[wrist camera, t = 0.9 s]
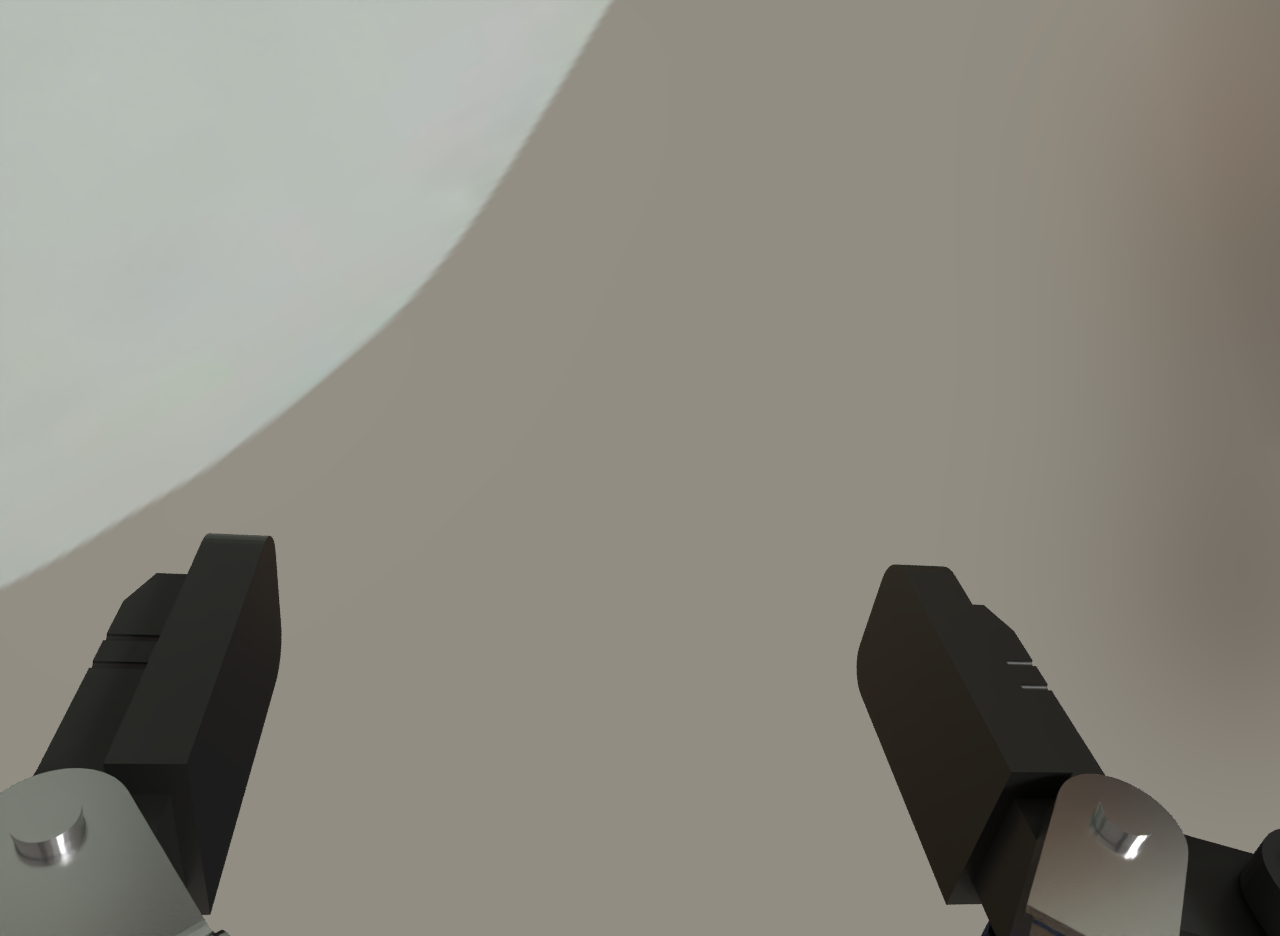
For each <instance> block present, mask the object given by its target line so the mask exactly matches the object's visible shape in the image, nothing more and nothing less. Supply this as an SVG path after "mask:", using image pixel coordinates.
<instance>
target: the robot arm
mask: <svg viewBox="0 0 1280 936" xmlns="http://www.w3.org/2000/svg"><path fill="white" fill-rule="evenodd" d="M280 655H281V618H280V605H279V593H278V578H277V565H276V552H275V544H274V540H273V538H272V537H271V536H259V535H233V534H212V533H209V534H207V535H206V536H205V537H204V539H203V540H202V542H201V545H200V547H199V549H198V551H197V554H196V556H195V558H194V560H193V563H192V566H191V567H190V569H189V572H188V574H166V573H156V574H155V575H154V576H153V577H152V578H150V579H149V580H148V581H147V582H146V583H145V584H143V585H142V586H141V587H140V588H138V589H137V590H136V591H135V592H134V593H133V594H131V595H130V596H129V597H128V598H126V599H125V600H124V601H123V603H122V605H121V607H120V609H119V611H118V613H117V615H116V616H115V619H114V620H113V623H112V624H111V626H110V628H109V630H108V632H107V638H106V640H103V642H102V644H101V646H100V648H99V650H98V652H97V654H96V656H95V657H94V659H93V666H92V668H89V669H88V671H87V673H86V675H85V677H84V679H83V681H82V683H81V685H80V687H79V689H78V691H77V693H76V695H75V697H74V698H73V700H72V702H71V704H70V706H69V708H68V710H67V712H66V714H65V716H64V718H63V720H62V722H61V724H60V726H59V728H58V730H57V732H56V734H55V736H54V738H53V739H52V741H51V743H50V745H49V747H48V750H47V751H46V753H45V755H44V757H43V759H42V761H41V763H40V765H39V767H38V769H37V770H36V772H35V774H34V775H33V777H30V778H27V779H24V780H22V781H20V782H18V783H16V784H14V785H12V786H11V787H9V788H7V789H6V790H4V791H3V792H1V793H0V936H230V935H229V934H228V933H227V932H226V931H224V930H220V931H219V932H217V933H214V932H213V931H212V930H211V928H210V927H209V926H208V924H207V923H206V921H205V919H204V918H203V916H202V915H210V914H211V910H212V907H213V903H214V900H215V896H216V892H217V889H218V885H219V882H220V878H221V874H222V871H223V868H224V864H225V860H226V857H227V853H228V850H229V846H230V843H231V839H232V836H233V832H234V829H235V825H236V821H237V818H238V814H239V811H240V807H241V804H242V800H243V796H244V793H245V790H246V786H247V782H248V779H249V775H250V772H251V768H252V764H253V761H254V758H255V754H256V750H257V747H258V744H259V740H260V736H261V733H262V729H263V726H264V722H265V719H266V715H267V712H268V708H269V705H270V701H271V697H272V694H273V690H274V687H275V683H276V679H277V675H278V669H279V663H280ZM857 680H858V686H859V690H860V693H861V696H862V699H863V701H864V703H865V705H866V708H867V711H868V713H869V716H870V718H871V721H872V723H873V726H874V728H875V731H876V733H877V735H878V738H879V740H880V743H881V745H882V748H883V750H884V753H885V755H886V757H887V760H888V763H889V765H890V767H891V770H892V772H893V775H894V777H895V780H896V782H897V785H898V787H899V790H900V792H901V794H902V797H903V799H904V802H905V804H906V807H907V809H908V811H909V814H910V817H911V819H912V821H913V824H914V826H915V829H916V831H917V833H918V836H919V839H920V841H921V843H922V846H923V848H924V851H925V853H926V856H927V858H928V861H929V863H930V866H931V868H932V871H933V873H934V876H935V878H936V880H937V883H938V885H939V888H940V890H941V893H942V895H943V898H944V900H945V902H946V905H948V904H949V905H950V904H982V905H983V907H984V910H985V912H986V915H987V917H988V919H989V922H988V923H987V925H986V927H985V929H984V931H983V933H982V935H981V936H1280V829H1277V830H1275V831H1273V832H1271V833H1269V834H1268V836H1267V837H1266V838H1265V839H1264V840H1263V842H1262V843H1261V844H1260V846H1259V847H1258V848H1257V850H1256V851H1255V853H1254V854H1252V853H1248V852H1245V851H1241V850H1238V849H1234V848H1230V847H1227V846H1223V845H1220V844H1216V843H1212V842H1209V841H1205V840H1201V839H1198V838H1194V837H1191V836H1188V835H1185V834H1183V832H1182V830H1181V828H1180V826H1179V825H1178V823H1177V822H1176V820H1175V819H1174V818H1173V817H1172V815H1171V814H1170V813H1169V812H1168V811H1167V810H1166V809H1165V808H1164V807H1163V806H1162V805H1161V804H1160V803H1159V802H1157V801H1156V800H1155V799H1154V798H1152V797H1151V796H1150V795H1148V794H1147V793H1145V792H1144V791H1142V790H1141V789H1139V788H1137V787H1135V786H1133V785H1131V784H1129V783H1127V782H1125V781H1122V780H1120V779H1117V778H1113V777H1110V776H1106V775H1105V774H1104V773H1103V771H1102V769H1101V768H1100V766H1099V765H1098V763H1097V762H1096V760H1095V759H1094V757H1093V755H1092V754H1091V752H1090V750H1089V749H1088V747H1087V746H1086V744H1085V743H1084V741H1083V739H1082V738H1081V736H1080V735H1079V733H1078V732H1077V730H1076V728H1075V727H1074V725H1073V724H1072V722H1071V721H1070V719H1069V717H1068V716H1067V714H1066V713H1065V711H1064V710H1063V708H1062V706H1061V705H1060V703H1059V702H1058V700H1057V698H1056V697H1055V695H1054V694H1053V692H1052V691H1051V690H1050V691H1049V690H1048V689H1047V683H1046V681H1045V680H1044V678H1043V676H1042V675H1041V673H1040V672H1039V670H1038V669H1037V667H1036V666H1032V659H1031V658H1030V656H1029V654H1028V653H1027V651H1026V649H1025V648H1024V646H1023V645H1022V643H1021V642H1020V640H1019V638H1018V637H1017V635H1016V634H1015V632H1014V631H1013V630H1012V629H1011V628H1010V627H1009V626H1007V625H1006V624H1005V623H1004V622H1003V621H1001V620H1000V619H999V618H998V617H997V616H996V615H995V614H993V613H992V612H991V611H990V610H989V609H988V608H987V607H985V606H984V605H972V603H971V601H970V600H969V598H968V596H967V595H966V593H965V591H964V590H963V588H962V587H961V585H960V583H959V581H958V580H957V578H956V576H955V575H954V574H953V572H952V571H951V570H950V569H949V568H947V567H939V566H917V565H891V566H890V567H889V568H888V569H887V570H886V572H885V574H884V576H883V579H882V582H881V584H880V587H879V590H878V593H877V596H876V599H875V602H874V605H873V608H872V611H871V614H870V617H869V620H868V623H867V626H866V629H865V632H864V634H863V637H862V641H861V643H860V647H859V651H858V656H857Z"/></svg>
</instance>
